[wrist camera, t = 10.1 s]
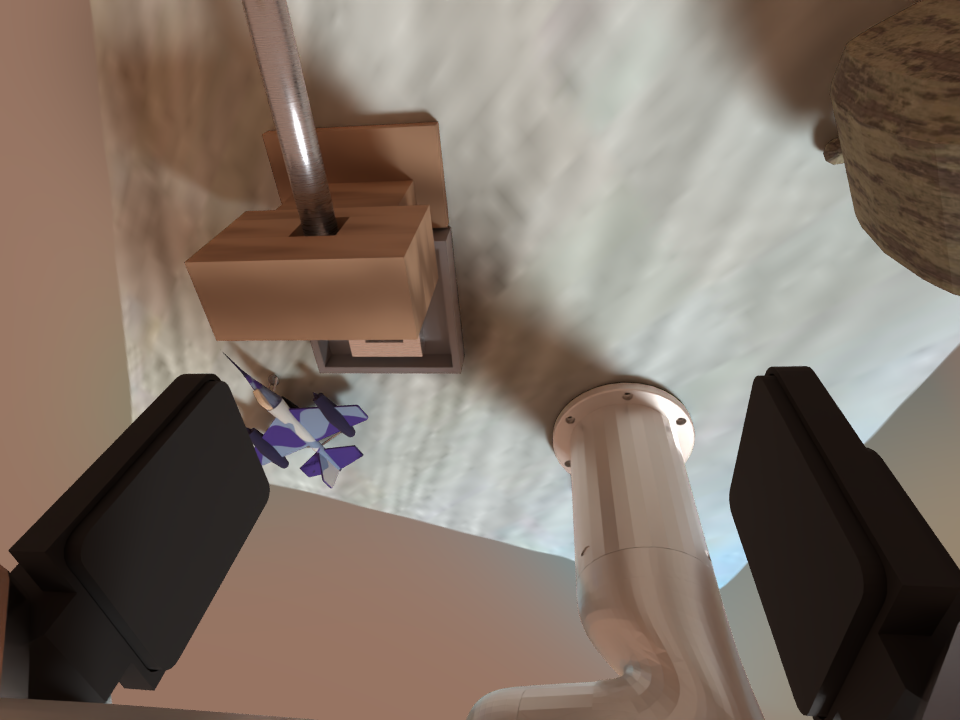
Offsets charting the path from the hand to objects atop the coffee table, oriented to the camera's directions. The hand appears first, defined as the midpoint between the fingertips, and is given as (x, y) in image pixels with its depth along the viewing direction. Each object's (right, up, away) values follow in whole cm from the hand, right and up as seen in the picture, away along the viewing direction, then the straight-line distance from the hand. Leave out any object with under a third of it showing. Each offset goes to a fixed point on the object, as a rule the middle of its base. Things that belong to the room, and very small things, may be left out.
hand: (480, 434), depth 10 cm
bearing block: (-8, +14, +30) cm, 34 cm away
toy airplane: (-17, -3, +44) cm, 47 cm away
